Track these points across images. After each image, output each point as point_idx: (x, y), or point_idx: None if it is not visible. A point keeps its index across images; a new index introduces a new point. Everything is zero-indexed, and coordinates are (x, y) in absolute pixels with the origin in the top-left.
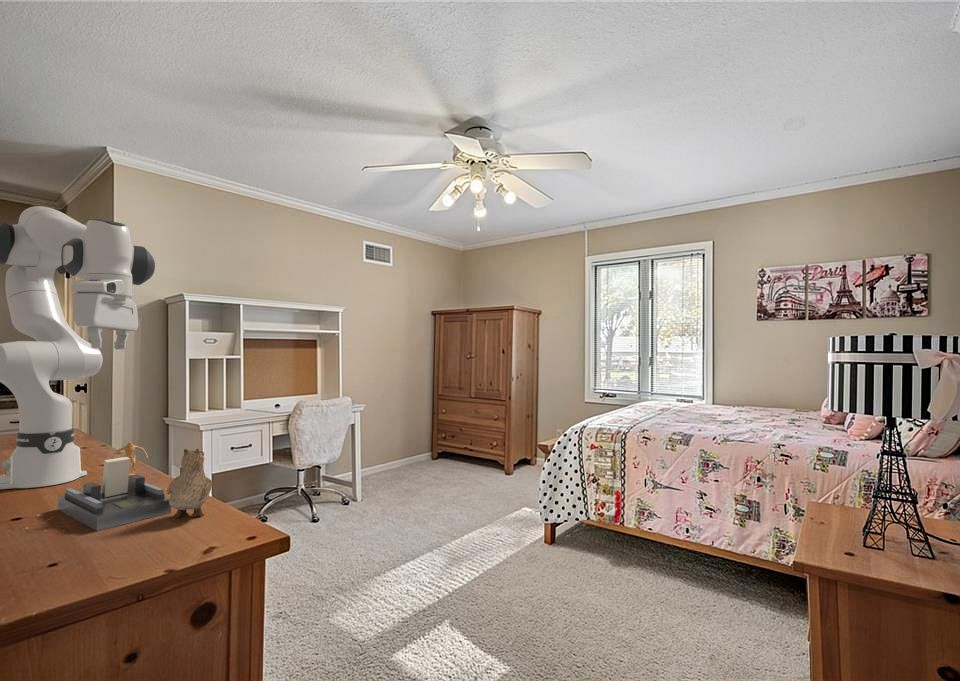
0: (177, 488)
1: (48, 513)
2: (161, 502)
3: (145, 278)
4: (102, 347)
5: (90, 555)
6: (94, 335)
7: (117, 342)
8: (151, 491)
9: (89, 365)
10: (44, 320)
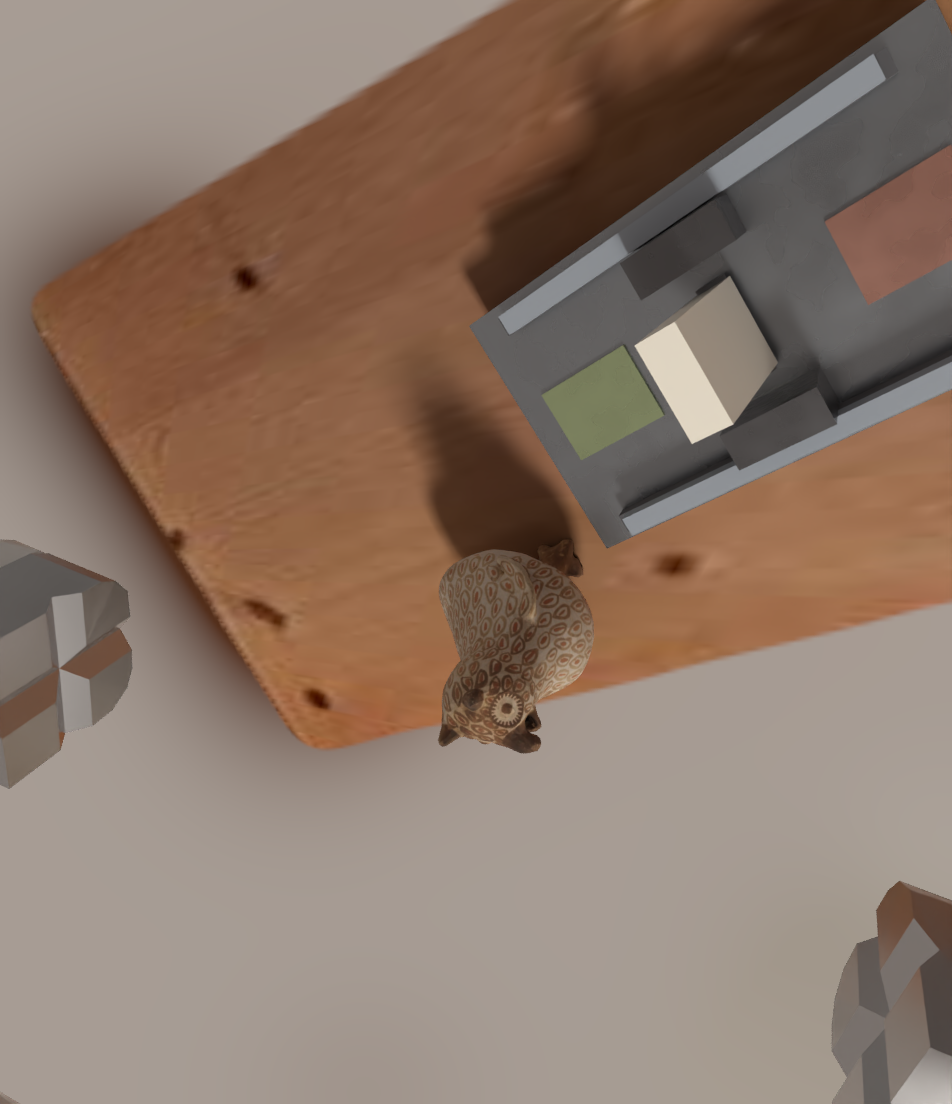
0: (469, 598)
1: None
2: (588, 515)
3: None
4: (97, 686)
5: (287, 355)
6: None
7: (881, 1084)
8: (687, 482)
9: None
10: None
